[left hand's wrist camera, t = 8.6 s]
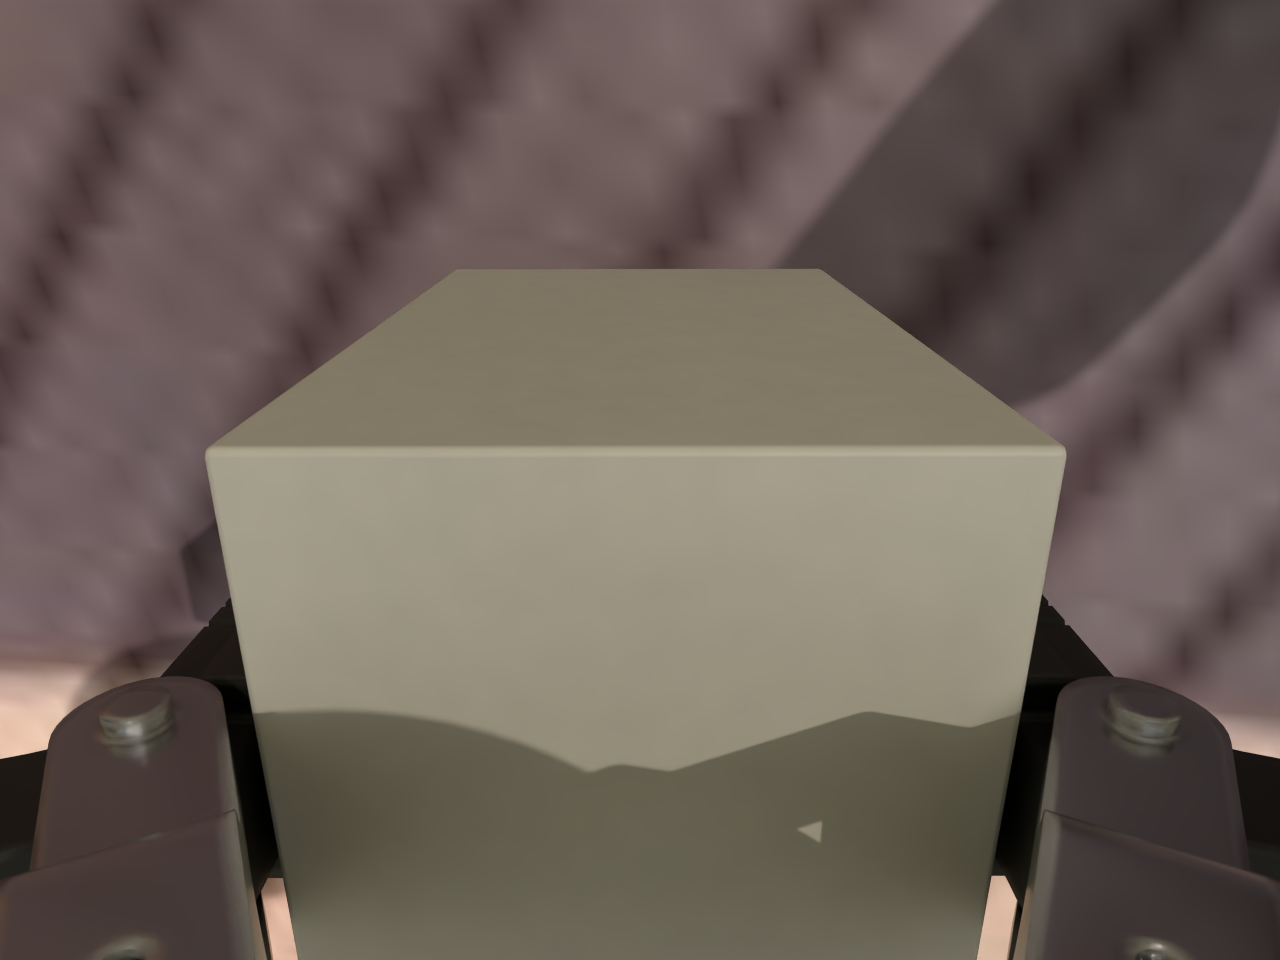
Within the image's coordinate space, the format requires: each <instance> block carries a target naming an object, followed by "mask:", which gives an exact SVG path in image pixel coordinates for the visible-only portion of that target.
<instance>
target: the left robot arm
mask: <svg viewBox="0 0 1280 960" xmlns="http://www.w3.org/2000/svg"><path fill="white" fill-rule="evenodd" d="M992 876H1006V878H1007V880H1008V882H1009V884H1010V886H1011V889H1012V891H1013V893H1014V895H1015V897H1016V899H1017V903H1016V908H1015V913H1014V918H1013V923H1012V929H1011V936H1010V942H1009V948H1008V954H1007V960H1280V759H1279V758H1274V757H1269V756H1263V755H1258V754H1253V753H1248V752H1242V751H1238V750H1234V749H1232V744H1231V740H1230V737H1229V734H1228V732H1227V731H1226V729H1225V728H1224V726H1223V725H1222V724H1221V723H1220V722H1219V721H1218V719H1217V718H1216V717H1214V716H1213V715H1212V714H1211V713H1210V712H1208V711H1207V710H1206V709H1204V708H1203V707H1201V706H1200V705H1198V704H1197V703H1195V702H1194V701H1192V700H1190V699H1188V698H1186V697H1184V696H1182V695H1180V694H1178V693H1176V692H1173V691H1171V690H1169V689H1166V688H1163V687H1160V686H1157V685H1154V684H1151V683H1147V682H1143V681H1139V680H1134V679H1129V678H1122V677H1114V676H1113V675H1112V674H1111V673H1110V672H1109V671H1108V670H1107V668H1106V667H1105V666H1104V665H1103V664H1102V663H1101V661H1100V660H1099V659H1098V658H1097V657H1096V656H1095V655H1094V653H1093V652H1092V651H1091V650H1090V649H1089V648H1088V647H1087V645H1086V644H1085V643H1084V642H1083V641H1082V640H1081V638H1080V637H1079V636H1078V635H1077V634H1076V633H1075V632H1074V630H1073V629H1072V628H1071V627H1070V626H1069V625H1065V620H1064V619H1063V618H1062V617H1061V616H1060V614H1059V613H1058V612H1057V611H1056V610H1055V609H1054V607H1053V606H1048V601H1047V599H1046V598H1045V597H1044V596H1043V595H1042V596H1041V602H1040V607H1039V613H1038V618H1037V624H1036V629H1035V635H1034V641H1033V646H1032V652H1031V657H1030V663H1029V669H1028V674H1027V680H1026V685H1025V691H1024V697H1023V702H1022V708H1021V713H1020V719H1019V725H1018V730H1017V736H1016V741H1015V747H1014V753H1013V758H1012V764H1011V769H1010V775H1009V781H1008V786H1007V792H1006V797H1005V803H1004V809H1003V814H1002V820H1001V825H1000V831H999V837H998V842H997V848H996V853H995V859H994V865H993V870H992ZM267 878H283V875H282V869H281V864H280V859H279V853H278V848H277V843H276V837H275V832H274V826H273V821H272V816H271V810H270V805H269V799H268V794H267V789H266V783H265V778H264V773H263V767H262V762H261V756H260V751H259V746H258V740H257V735H256V730H255V724H254V719H253V713H252V708H251V703H250V697H249V692H248V687H247V681H246V676H245V670H244V665H243V660H242V654H241V649H240V644H239V638H238V633H237V627H236V622H235V617H234V611H233V606H232V600H231V597H230V598H229V600H228V601H227V602H226V607H222V608H221V609H220V610H219V611H218V612H217V613H216V614H215V615H214V617H213V618H212V619H211V620H210V621H209V627H204V628H203V629H202V630H201V631H200V632H199V634H198V635H197V636H196V637H195V638H194V639H193V640H192V642H191V643H190V644H189V645H188V646H187V647H186V648H185V650H184V651H183V652H182V653H181V654H180V655H179V656H178V657H177V659H176V660H175V661H174V662H173V663H172V664H171V665H170V667H169V668H168V669H167V670H166V671H165V672H164V673H163V675H162V676H161V677H158V678H151V679H146V680H141V681H137V682H133V683H129V684H126V685H123V686H120V687H117V688H114V689H111V690H109V691H107V692H104V693H102V694H100V695H98V696H96V697H94V698H92V699H90V700H88V701H86V702H85V703H83V704H82V705H80V706H79V707H77V708H76V709H74V710H73V711H72V712H70V713H69V714H68V715H67V716H66V717H64V718H63V719H62V721H61V722H60V723H59V724H58V725H57V726H56V728H55V729H54V731H53V732H52V734H51V737H50V740H49V744H48V749H47V750H43V751H38V752H34V753H30V754H25V755H19V756H14V757H9V758H4V759H0V960H273V954H272V948H271V942H270V936H269V929H268V923H267V918H266V913H265V908H264V903H263V898H262V893H261V890H262V888H263V886H264V884H265V882H266V880H267Z"/></svg>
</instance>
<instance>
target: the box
mask: <svg viewBox="0 0 1280 960" xmlns="http://www.w3.org/2000/svg"><path fill="white" fill-rule="evenodd" d="M205 461H206V466H207V471H208V477H209V482H210V488H211V493H212V498H213V504H214V509H215V514H216V520H217V525H218V531H219V536H220V541H221V547H222V552H223V557H224V563H225V568H226V574H227V579H228V584H229V590H230V595H231V600H232V606H233V611H234V617H235V622H236V627H237V633H238V638H239V644H240V649H241V654H242V660H243V665H244V670H245V676H246V681H247V687H248V692H249V697H250V703H251V708H252V713H253V719H254V724H255V730H256V735H257V740H258V746H259V751H260V756H261V762H262V767H263V773H264V778H265V783H266V789H267V794H268V799H269V805H270V810H271V816H272V821H273V826H274V832H275V837H276V843H277V848H278V853H279V859H280V864H281V869H282V875H283V880H284V886H285V891H286V896H287V902H288V907H289V912H290V918H291V923H292V929H293V934H294V939H295V945H296V950H297V955H298V960H977V954H978V948H979V943H980V937H981V932H982V926H983V920H984V915H985V909H986V904H987V898H988V892H989V887H990V881H991V876H992V870H993V865H994V859H995V853H996V848H997V842H998V837H999V831H1000V825H1001V820H1002V814H1003V809H1004V803H1005V797H1006V792H1007V786H1008V781H1009V775H1010V769H1011V764H1012V758H1013V753H1014V747H1015V741H1016V736H1017V730H1018V725H1019V719H1020V713H1021V708H1022V702H1023V697H1024V691H1025V685H1026V680H1027V674H1028V669H1029V663H1030V657H1031V652H1032V646H1033V641H1034V635H1035V629H1036V624H1037V618H1038V613H1039V607H1040V602H1041V596H1042V590H1043V585H1044V579H1045V574H1046V568H1047V562H1048V557H1049V551H1050V546H1051V540H1052V534H1053V529H1054V523H1055V518H1056V512H1057V506H1058V501H1059V495H1060V490H1061V484H1062V478H1063V473H1064V467H1065V462H1066V450H1065V447H1064V446H1063V445H1061V444H1060V443H1059V442H1057V441H1056V440H1054V439H1053V438H1052V437H1050V436H1049V435H1048V434H1046V433H1045V432H1043V431H1042V430H1041V429H1039V428H1038V427H1037V426H1035V425H1034V424H1032V423H1031V422H1030V421H1028V420H1027V419H1026V418H1024V417H1023V416H1021V415H1020V414H1019V413H1017V412H1016V411H1015V410H1013V409H1012V408H1010V407H1009V406H1008V405H1006V404H1005V403H1004V402H1002V401H1001V400H999V399H998V398H997V397H995V396H994V395H993V394H991V393H990V392H988V391H987V390H986V389H984V388H983V387H982V386H980V385H979V384H978V383H976V382H975V381H973V380H972V379H971V378H969V377H968V376H967V375H965V374H964V373H962V372H961V371H960V370H958V369H957V368H956V367H954V366H953V365H951V364H950V363H949V362H947V361H946V360H945V359H943V358H942V357H940V356H939V355H938V354H936V353H935V352H934V351H932V350H931V349H929V348H928V347H927V346H925V345H924V344H923V343H921V342H920V341H918V340H917V339H916V338H914V337H913V336H912V335H910V334H909V333H907V332H906V331H905V330H903V329H902V328H901V327H899V326H898V325H896V324H895V323H894V322H892V321H891V320H890V319H888V318H887V317H885V316H884V315H883V314H881V313H880V312H879V311H877V310H876V309H874V308H873V307H872V306H870V305H869V304H868V303H866V302H865V301H864V300H862V299H861V298H859V297H858V296H857V295H855V294H854V293H853V292H851V291H850V290H848V289H847V288H846V287H844V286H843V285H842V284H840V283H839V282H837V281H836V280H835V279H833V278H832V277H831V276H829V275H828V274H826V273H825V272H824V271H822V270H820V269H458V270H455V271H454V272H452V273H451V274H449V275H448V276H447V277H445V278H444V279H442V280H441V281H440V282H438V283H437V284H435V285H434V286H433V287H431V288H430V289H428V290H427V291H426V292H424V293H423V294H421V295H420V296H419V297H417V298H416V299H415V300H413V301H412V302H410V303H409V304H408V305H406V306H405V307H403V308H402V309H401V310H399V311H398V312H396V313H395V314H394V315H392V316H391V317H389V318H388V319H387V320H385V321H384V322H382V323H381V324H380V325H378V326H377V327H375V328H374V329H373V330H371V331H370V332H368V333H367V334H366V335H364V336H363V337H361V338H360V339H359V340H357V341H356V342H354V343H353V344H352V345H350V346H349V347H347V348H346V349H345V350H343V351H342V352H340V353H339V354H338V355H336V356H335V357H333V358H332V359H331V360H329V361H328V362H326V363H325V364H324V365H322V366H321V367H320V368H318V369H317V370H315V371H314V372H313V373H311V374H310V375H308V376H307V377H306V378H304V379H303V380H301V381H300V382H299V383H297V384H296V385H294V386H293V387H292V388H290V389H289V390H287V391H286V392H285V393H283V394H282V395H280V396H279V397H278V398H276V399H275V400H273V401H272V402H271V403H269V404H268V405H266V406H265V407H264V408H262V409H261V410H259V411H258V412H257V413H255V414H254V415H252V416H251V417H250V418H248V419H247V420H245V421H244V422H243V423H241V424H240V425H238V426H237V427H236V428H234V429H233V430H231V431H230V432H229V433H227V434H226V435H224V436H223V437H222V438H220V439H219V440H218V441H216V442H215V443H213V444H212V445H211V446H209V447H208V448H207V450H206V454H205Z"/></svg>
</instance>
